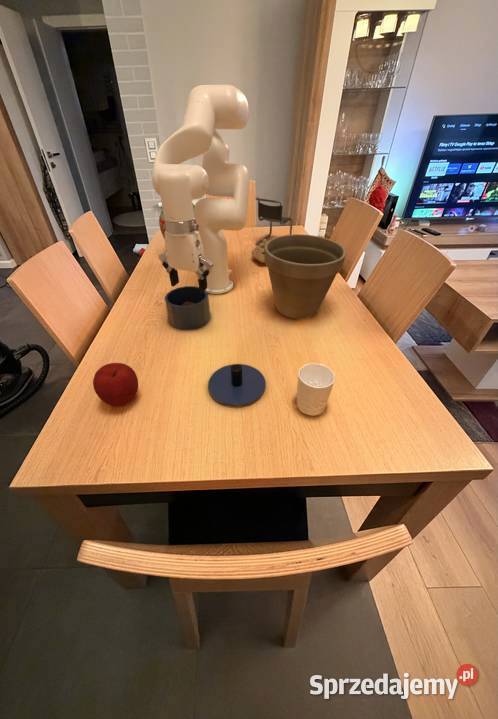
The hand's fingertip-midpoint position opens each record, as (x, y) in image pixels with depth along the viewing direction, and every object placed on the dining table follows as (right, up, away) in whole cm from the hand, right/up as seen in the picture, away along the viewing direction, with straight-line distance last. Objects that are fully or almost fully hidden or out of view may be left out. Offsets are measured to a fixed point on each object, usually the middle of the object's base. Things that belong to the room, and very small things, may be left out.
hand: (189, 287), depth 88 cm
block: (-2, -7, +13) cm, 15 cm away
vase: (-11, +26, +52) cm, 59 cm away
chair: (+30, +40, +69) cm, 85 cm away
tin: (-2, -7, +13) cm, 15 cm away
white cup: (+32, -32, -16) cm, 49 cm away
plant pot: (+35, -3, +18) cm, 39 cm away
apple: (-13, -31, -14) cm, 37 cm away
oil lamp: (+24, +24, +50) cm, 61 cm away
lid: (+15, -28, -12) cm, 33 cm away
